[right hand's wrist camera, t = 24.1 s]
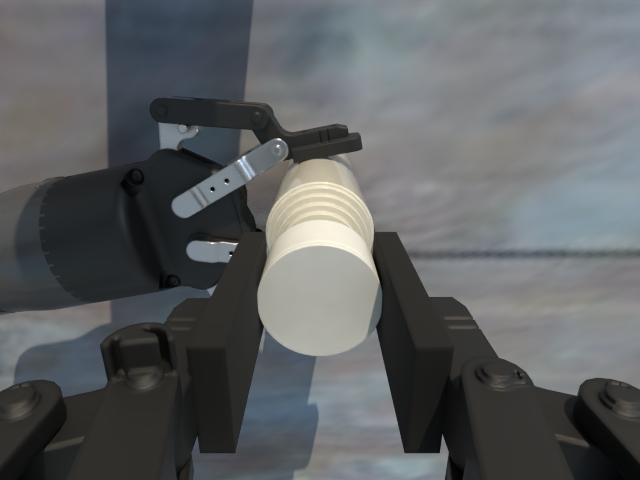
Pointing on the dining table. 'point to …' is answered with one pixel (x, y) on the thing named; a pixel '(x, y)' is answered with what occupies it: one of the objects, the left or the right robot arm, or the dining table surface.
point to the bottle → (320, 198)
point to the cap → (319, 289)
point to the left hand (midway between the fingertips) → (365, 186)
